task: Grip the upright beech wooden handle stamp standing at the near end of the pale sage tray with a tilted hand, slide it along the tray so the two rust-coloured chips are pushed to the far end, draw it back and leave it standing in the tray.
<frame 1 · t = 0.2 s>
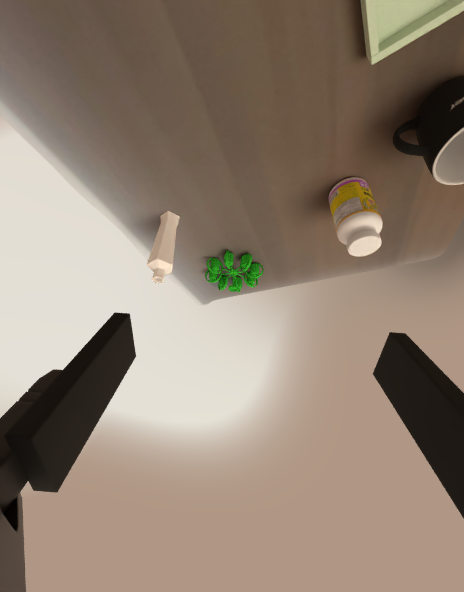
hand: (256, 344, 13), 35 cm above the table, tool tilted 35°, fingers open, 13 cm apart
supplement bottle: (347, 191, 45), on the table
mug: (431, 108, 34), on the table
chandelier: (233, 265, 65), on the table
perfume bottle: (171, 218, 52), on the table
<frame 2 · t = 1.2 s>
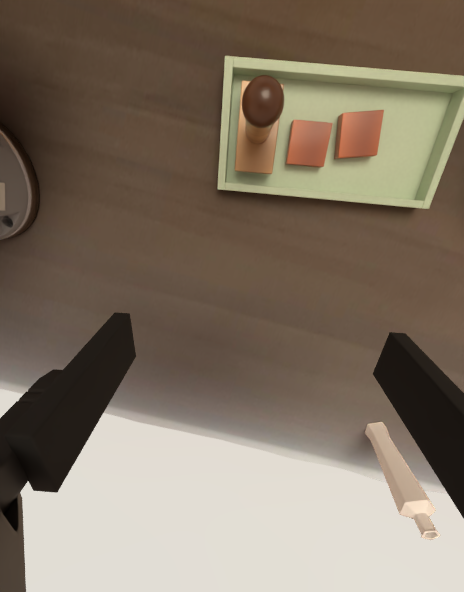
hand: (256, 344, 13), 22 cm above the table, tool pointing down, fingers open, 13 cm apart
tray: (328, 142, 28), on the table
chip b: (354, 137, 27), point 1 cm above the table, touching tray
wooden handle stamp: (256, 134, 28), point 1 cm above the table, touching tray
chip a: (306, 145, 28), point 1 cm above the table, touching tray
perfume bottle: (376, 428, 46), on the table
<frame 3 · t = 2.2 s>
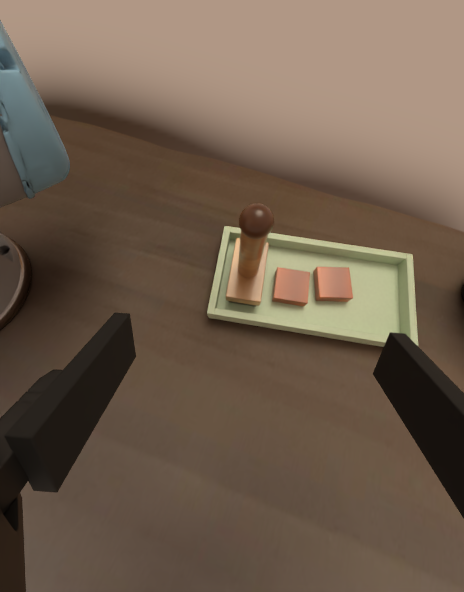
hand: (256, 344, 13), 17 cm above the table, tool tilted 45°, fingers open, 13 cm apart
tray: (308, 289, 32), on the table
chip b: (330, 286, 32), point 1 cm above the table, touching tray
wooden handle stamp: (246, 277, 32), point 1 cm above the table, touching tray
chip a: (289, 288, 32), point 1 cm above the table, touching tray
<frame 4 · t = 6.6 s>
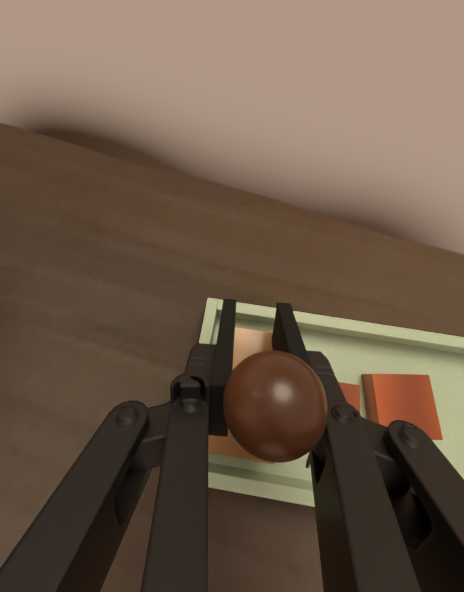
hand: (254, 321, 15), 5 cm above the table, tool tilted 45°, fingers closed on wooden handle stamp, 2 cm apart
tray: (353, 405, 19), on the table
chip b: (392, 403, 18), point 1 cm above the table, touching tray
wooden handle stamp: (246, 388, 18), point 1 cm above the table, touching gripper, tray
chip a: (321, 409, 18), point 1 cm above the table, touching tray
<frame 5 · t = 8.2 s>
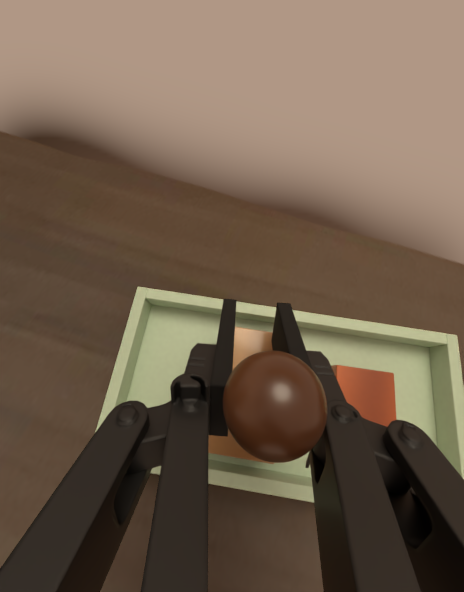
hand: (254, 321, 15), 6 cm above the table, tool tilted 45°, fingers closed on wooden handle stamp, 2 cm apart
tray: (280, 391, 19), on the table
chip b: (355, 397, 18), point 1 cm above the table, touching chip a
wooden handle stamp: (245, 387, 18), point 1 cm above the table, touching gripper
when the fingers open (5 cm above the table, at t = 11.5 s): wooden handle stamp stays where it is, resting on tray.
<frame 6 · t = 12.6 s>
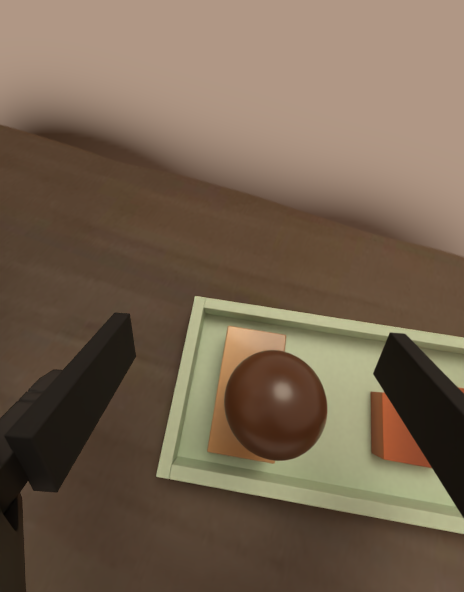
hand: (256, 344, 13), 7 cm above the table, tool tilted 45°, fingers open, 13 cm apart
tray: (339, 403, 19), on the table
wooden handle stamp: (246, 387, 18), point 1 cm above the table, touching tray
chip a: (399, 426, 18), point 1 cm above the table, touching chip b, tray
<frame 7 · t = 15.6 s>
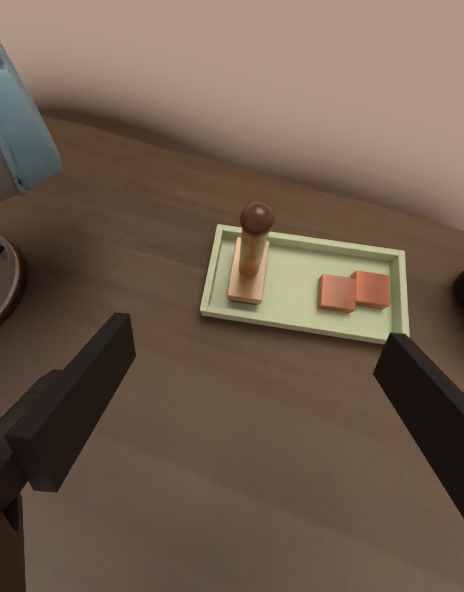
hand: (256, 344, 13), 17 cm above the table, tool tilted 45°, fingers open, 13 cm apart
tray: (301, 286, 32), on the table
chip b: (366, 291, 32), point 1 cm above the table, touching chip a, tray
wooden handle stamp: (247, 276, 32), point 1 cm above the table, touching tray
chip a: (333, 295, 31), point 1 cm above the table, touching chip b, tray
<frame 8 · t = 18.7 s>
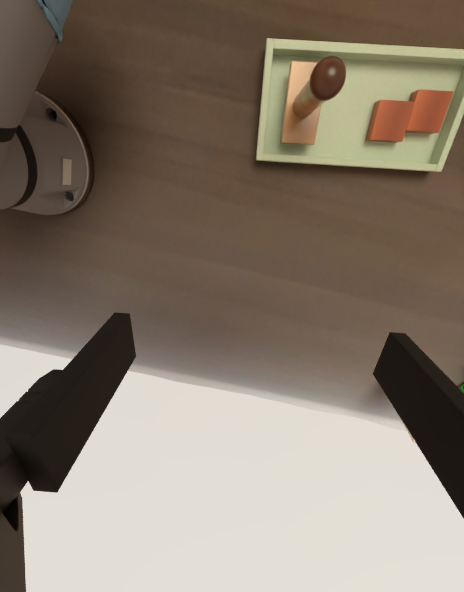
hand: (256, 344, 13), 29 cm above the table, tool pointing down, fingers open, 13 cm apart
tray: (353, 114, 32), on the table
chip b: (421, 113, 31), point 1 cm above the table, touching chip a, tray
wooden handle stamp: (299, 110, 31), point 1 cm above the table, touching tray
chip a: (385, 123, 32), point 1 cm above the table, touching chip b, tray
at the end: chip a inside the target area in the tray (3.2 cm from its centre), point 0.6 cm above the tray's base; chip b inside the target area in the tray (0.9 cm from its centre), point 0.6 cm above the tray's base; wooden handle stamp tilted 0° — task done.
